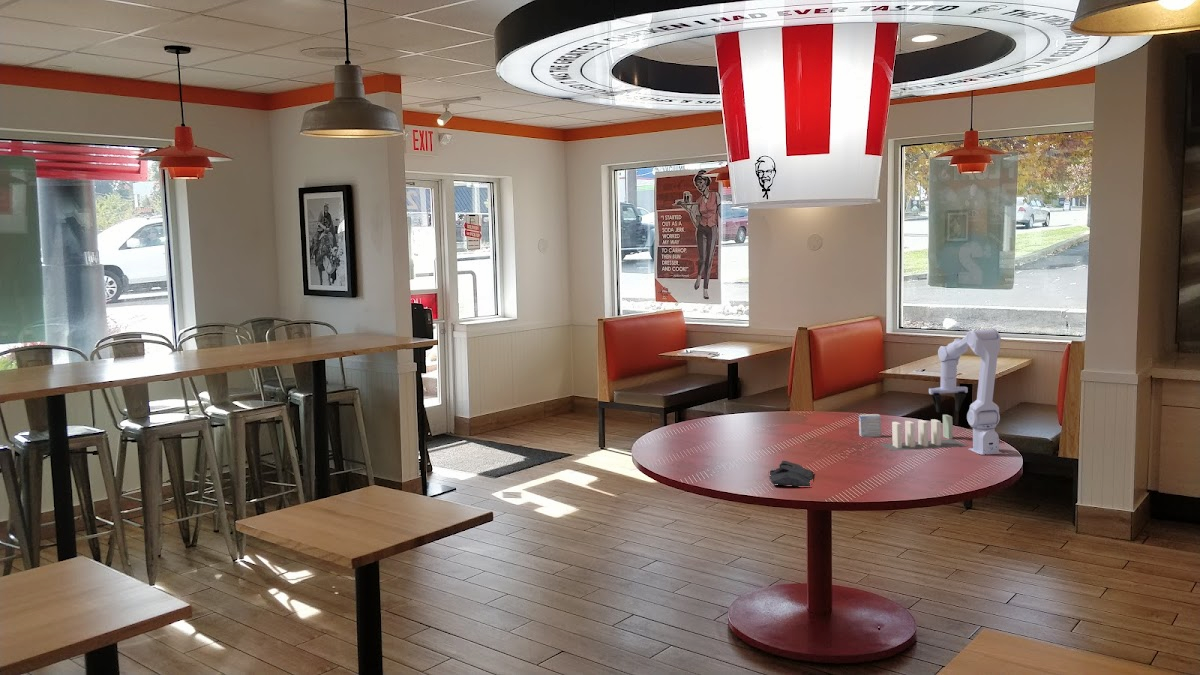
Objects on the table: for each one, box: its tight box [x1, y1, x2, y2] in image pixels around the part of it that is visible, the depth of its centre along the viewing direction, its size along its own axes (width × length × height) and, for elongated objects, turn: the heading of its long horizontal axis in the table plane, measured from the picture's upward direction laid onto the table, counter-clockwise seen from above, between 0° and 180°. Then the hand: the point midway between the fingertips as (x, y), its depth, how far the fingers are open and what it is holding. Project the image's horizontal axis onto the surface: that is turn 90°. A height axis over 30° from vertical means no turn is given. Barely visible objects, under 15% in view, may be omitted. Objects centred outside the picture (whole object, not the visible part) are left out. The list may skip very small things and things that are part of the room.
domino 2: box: [904, 420, 916, 447], centre depth 347 cm, size 2×5×9 cm, turn 4°
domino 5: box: [942, 414, 954, 440], centre depth 359 cm, size 2×5×9 cm, turn 4°
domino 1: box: [891, 421, 903, 448], centre depth 347 cm, size 2×5×9 cm, turn 4°
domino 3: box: [917, 419, 929, 446], centre depth 348 cm, size 2×5×9 cm, turn 3°
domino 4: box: [930, 418, 942, 446], centre depth 348 cm, size 2×5×9 cm, turn 4°
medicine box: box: [858, 413, 882, 438], centre depth 370 cm, size 8×4×9 cm, turn 84°
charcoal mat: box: [879, 439, 969, 452], centre depth 348 cm, size 12×29×1 cm, turn 94°
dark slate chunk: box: [769, 460, 815, 486], centre depth 307 cm, size 15×22×5 cm
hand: (947, 411), depth 358 cm, fingers open, 7 cm apart
